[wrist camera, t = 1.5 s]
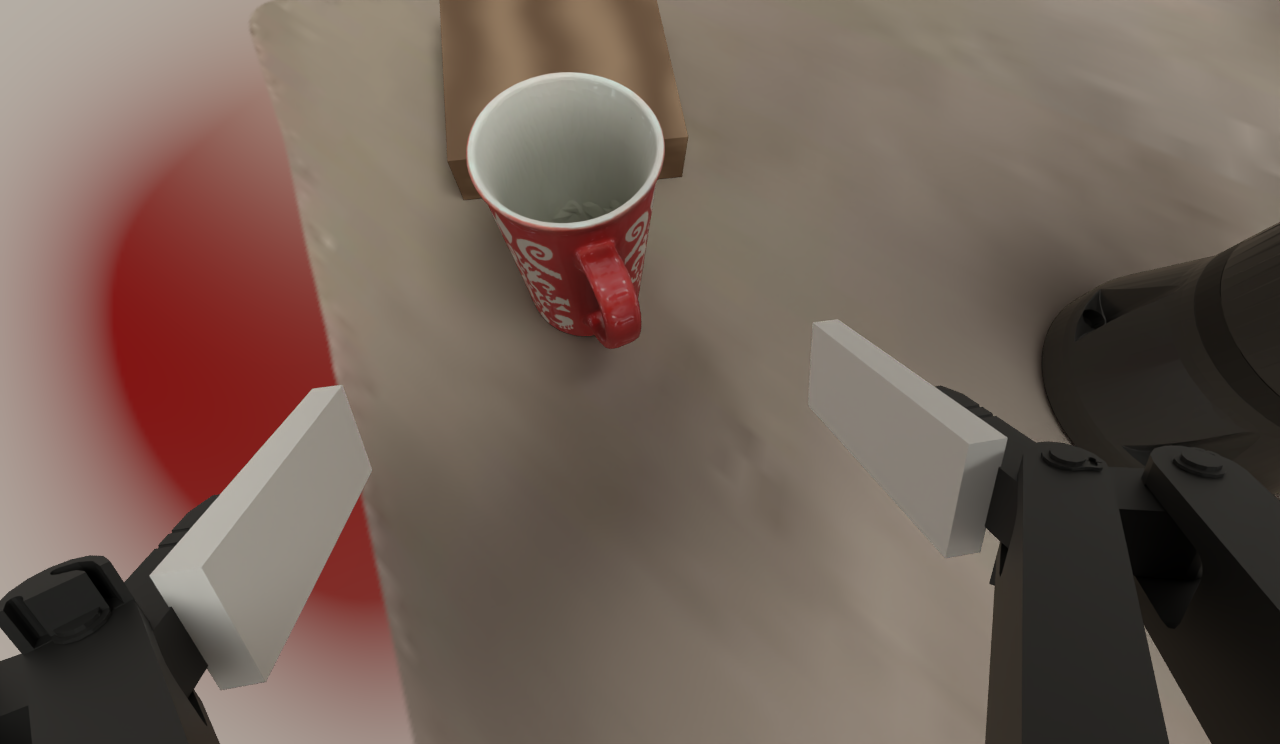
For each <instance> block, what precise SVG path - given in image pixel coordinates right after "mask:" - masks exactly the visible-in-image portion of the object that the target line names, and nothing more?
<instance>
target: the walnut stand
mask: <svg viewBox="0 0 1280 744" xmlns="http://www.w3.org/2000/svg"><path fill="white" fill-rule="evenodd" d="M440 17H441V38H442V58H443V79H444V100H445V120H446V141H447V161H448V164H449V166H450V168H451V171H452V173H453V175H454V178H455V180H456V182H457V185H458V187H459V189H460V192H461V194H462V196H463V199H464V200H467V199H477V198H482V197H481V196H480V195H479V193H478V192H477V190H476V188H475V187H474V185H473V183H472V181H471V178H470V175H469V172H468V168H467V160H466V148H467V141H468V137H469V134H470V131H471V128H472V126H473V124H474V122H475V120H476V118H477V117H478V115H479V114H480V112H481V111H482V110H483V109H484V107H485V106H486V105H487V104H488V103H489V102H490V101H491V100H492V99H494V98H495V97H496V96H497V95H499V94H500V93H501V92H503V91H504V90H506V89H507V88H509V87H511V86H513V85H515V84H517V83H519V82H522V81H524V80H527V79H530V78H533V77H536V76H540V75H545V74H549V73H559V72H575V73H586V74H592V75H596V76H600V77H604V78H607V79H610V80H613V81H615V82H617V83H619V84H621V85H623V86H625V87H627V88H628V89H630V90H631V91H633V92H634V93H636V94H637V95H638V96H639V97H640V98H641V99H642V100H643V101H644V102H645V103H646V104H647V105H648V106H649V107H650V108H651V110H652V111H653V113H654V114H655V115H656V118H657V119H658V121H659V123H660V125H661V128H662V131H663V136H664V142H665V156H664V162H663V166H662V169H661V172H660V175H659V177H658V179H663V178H673V177H682V173H683V167H684V160H685V154H686V148H687V141H688V134H687V130H686V125H685V121H684V117H683V112H682V108H681V104H680V99H679V95H678V91H677V86H676V82H675V78H674V73H673V69H672V65H671V60H670V56H669V52H668V47H667V43H666V39H665V34H664V30H663V26H662V21H661V17H660V13H659V8H658V4H657V0H440Z"/></svg>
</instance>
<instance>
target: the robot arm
mask: <svg viewBox="0 0 1280 744" xmlns="http://www.w3.org/2000/svg"><path fill="white" fill-rule="evenodd" d="M1042 371H1043V379H1044V384H1045V389H1046V392H1047V395H1048V399H1049V401H1050V404H1051V406H1052V409H1053V411H1054V413H1055V415H1056V417H1057V419H1058V421H1059V422H1060V424H1061V426H1062V427H1063V429H1064V431H1065V432H1066V433H1067V435H1068V436H1069V438H1070V439H1071V440H1072V442H1073V443H1074V444H1075V445H1076V446H1072V445H1068V444H1065V443H1057V442H1038V443H1036V442H1034V441H1033V440H1031V439H1030V438H1028V437H1027V436H1025V435H1024V434H1022V433H1021V432H1019V431H1018V430H1016V429H1015V428H1013V427H1012V426H1010V425H1009V424H1007V423H1006V422H1004V421H1003V420H1001V419H1000V418H998V417H997V416H993V414H992V413H991V412H989V411H988V410H986V409H985V408H983V407H979V404H977V403H976V402H974V401H973V400H971V399H970V398H968V397H967V396H965V395H964V394H962V393H959V392H956V391H954V390H951V389H948V388H946V387H943V386H936V387H934V386H933V385H931V384H930V383H929V382H927V381H926V380H924V379H923V378H921V377H920V376H918V375H917V374H916V373H914V372H913V371H911V370H910V369H908V368H907V367H906V366H904V365H903V364H901V363H900V362H898V361H897V360H896V359H894V358H893V357H891V356H890V355H888V354H887V353H886V352H884V351H883V350H881V349H880V348H878V347H877V346H876V345H874V344H873V343H871V342H870V341H868V340H867V339H866V338H864V337H863V336H861V335H860V334H858V333H857V332H855V331H854V330H853V329H851V328H850V327H848V326H847V325H845V324H844V323H843V322H841V321H840V320H838V319H835V320H827V321H820V322H813V326H812V343H811V361H810V378H809V396H808V406H809V407H810V408H811V409H812V411H813V412H814V413H815V414H816V415H817V416H818V417H819V418H820V419H821V421H822V422H823V423H824V424H825V425H826V426H827V427H828V428H829V429H830V431H831V432H832V433H833V434H834V435H835V436H836V437H837V438H838V439H839V441H840V442H841V443H842V444H843V445H844V446H845V447H846V448H847V450H848V451H849V452H850V453H851V454H852V455H853V456H854V457H855V458H856V460H857V461H858V462H859V463H860V464H861V465H862V466H863V467H864V468H865V470H866V471H867V472H868V473H869V474H870V475H871V476H872V477H873V478H874V480H875V481H876V482H877V483H878V484H879V485H880V486H881V487H882V488H883V490H884V491H885V492H886V493H887V494H888V495H889V496H890V497H891V498H892V500H893V501H894V502H895V503H896V504H897V505H898V506H899V507H900V508H901V510H902V511H903V512H904V513H905V514H906V515H907V516H908V517H909V519H910V520H911V521H912V522H913V523H914V524H915V525H916V526H917V527H918V529H919V530H920V531H921V532H922V533H923V534H924V535H925V536H926V537H927V539H928V540H929V541H930V542H931V543H932V544H933V545H934V546H935V547H936V549H937V550H938V551H939V552H940V553H941V554H942V555H943V556H944V557H945V558H951V557H956V556H962V555H967V554H973V553H978V552H980V551H981V547H982V542H983V538H984V534H985V530H986V528H987V529H988V530H989V531H990V532H991V533H992V534H993V535H994V536H995V537H996V538H997V539H998V540H999V541H1000V545H999V548H998V552H997V556H996V560H995V564H994V568H993V572H992V575H991V579H990V583H989V584H991V585H995V591H994V607H993V624H992V640H991V657H990V674H989V690H988V707H987V723H986V740H985V744H1169V740H1168V736H1167V731H1166V726H1165V722H1164V717H1163V712H1162V708H1161V703H1160V699H1159V694H1158V689H1157V685H1156V680H1155V675H1154V671H1153V666H1152V661H1151V657H1150V652H1149V647H1148V643H1147V638H1146V633H1145V629H1144V626H1145V628H1146V629H1147V631H1148V633H1149V635H1150V636H1151V638H1152V640H1153V642H1154V643H1155V645H1156V647H1157V649H1158V650H1159V652H1160V654H1161V656H1162V657H1163V659H1164V661H1165V663H1166V664H1167V666H1168V668H1169V670H1170V671H1171V673H1172V675H1173V677H1174V678H1175V680H1176V682H1177V684H1178V686H1179V687H1180V689H1181V691H1182V693H1183V694H1184V696H1185V698H1186V700H1187V701H1188V703H1189V705H1190V707H1191V708H1192V710H1193V712H1194V714H1195V715H1196V717H1197V719H1198V721H1199V722H1200V724H1201V726H1202V728H1203V729H1204V731H1205V733H1206V735H1207V736H1208V738H1209V740H1210V742H1211V743H1212V744H1280V501H1279V500H1278V499H1277V498H1276V497H1275V496H1274V495H1275V494H1278V493H1280V222H1279V223H1277V224H1275V225H1273V226H1271V227H1269V228H1267V229H1265V230H1263V231H1262V232H1260V233H1258V234H1256V235H1254V236H1252V237H1250V238H1248V239H1246V240H1245V241H1243V242H1241V243H1239V244H1237V245H1235V246H1233V247H1231V248H1229V249H1227V250H1226V251H1224V252H1222V253H1220V254H1218V255H1216V256H1212V257H1207V258H1203V259H1198V260H1194V261H1189V262H1185V263H1181V264H1176V265H1172V266H1167V267H1163V268H1158V269H1154V270H1149V271H1145V272H1140V273H1136V274H1131V275H1127V276H1123V277H1120V278H1117V279H1114V280H1111V281H1109V282H1107V283H1104V284H1102V285H1100V286H1098V287H1097V288H1095V289H1093V290H1092V291H1090V292H1088V293H1086V294H1085V295H1083V296H1081V297H1080V298H1078V299H1076V300H1075V301H1073V302H1072V303H1070V304H1069V305H1068V306H1067V307H1065V308H1064V309H1063V310H1062V311H1061V312H1060V313H1059V315H1058V316H1057V317H1056V318H1055V320H1054V321H1053V323H1052V325H1051V327H1050V329H1049V331H1048V333H1047V336H1046V339H1045V343H1044V347H1043V355H1042ZM371 472H372V468H371V465H370V462H369V459H368V456H367V453H366V451H365V448H364V445H363V442H362V439H361V436H360V433H359V431H358V428H357V425H356V422H355V419H354V416H353V413H352V411H351V408H350V405H349V402H348V399H347V396H346V393H345V391H344V388H343V385H338V386H331V387H323V388H315V389H312V390H311V391H310V392H309V393H308V395H307V396H306V397H305V398H304V399H303V400H302V401H301V403H300V404H299V405H298V406H297V407H296V408H295V410H294V411H293V412H292V413H291V414H290V415H289V416H288V418H287V419H286V420H285V421H284V422H283V423H282V424H281V426H280V427H279V428H278V429H277V430H276V431H275V432H274V434H273V435H272V436H271V437H270V438H269V439H268V440H267V441H266V443H265V444H264V445H263V446H262V447H261V448H260V449H259V451H258V452H257V453H256V454H255V455H254V457H253V458H252V459H251V460H250V461H249V462H248V463H247V464H246V466H245V467H244V468H243V469H242V470H241V471H240V473H239V474H238V475H237V476H236V477H235V478H234V479H233V480H232V482H231V483H230V484H229V485H228V486H227V488H225V490H224V491H223V492H222V493H221V494H219V495H213V496H211V497H210V498H208V499H207V500H205V501H204V502H202V503H201V504H200V505H198V506H197V507H196V508H194V509H192V510H191V511H190V512H188V513H187V514H186V516H185V517H184V518H183V519H182V520H181V521H180V522H179V523H178V524H177V525H176V526H175V527H174V529H173V530H172V533H171V534H168V535H167V536H166V537H165V538H164V540H163V541H162V542H161V543H160V544H159V548H158V549H154V550H153V552H152V553H151V554H150V555H149V556H148V557H147V558H146V559H145V560H144V561H143V562H142V564H141V565H140V566H139V567H138V568H137V569H136V570H135V571H134V572H133V574H132V575H131V576H130V577H129V578H128V579H127V580H126V581H125V582H123V580H122V579H121V577H120V576H119V574H118V573H117V571H116V570H115V568H114V567H113V565H112V564H111V562H110V561H109V560H108V559H107V558H105V557H104V556H85V557H81V558H76V559H72V560H69V561H66V562H64V563H61V564H58V565H56V566H53V567H51V568H48V569H46V570H44V571H42V572H40V573H38V574H36V575H34V576H33V577H31V578H29V579H27V580H26V581H24V582H23V583H21V584H20V585H18V586H17V587H16V588H14V589H12V590H11V591H10V592H8V593H7V594H6V595H5V596H4V597H3V598H2V599H1V600H0V628H1V629H2V630H3V631H4V633H5V634H6V635H7V636H8V637H9V639H10V640H11V641H12V642H13V643H14V645H15V646H16V647H17V648H18V650H19V651H20V652H21V653H22V654H19V655H17V656H14V657H11V658H8V659H5V660H2V661H0V744H220V743H219V741H218V738H217V736H216V734H215V732H214V729H213V727H212V724H211V722H210V720H209V717H208V715H207V712H206V710H205V708H204V706H203V703H202V701H201V700H200V698H199V697H198V695H197V693H196V692H195V690H194V688H195V686H196V685H197V683H198V681H199V680H200V678H201V676H202V675H203V673H204V672H205V670H206V669H208V671H209V672H210V674H211V675H212V677H213V679H214V680H215V682H216V684H217V685H218V687H219V688H220V690H225V689H231V688H236V687H241V686H247V685H253V684H258V683H264V682H266V681H267V679H268V676H269V675H270V673H271V671H272V669H273V667H274V665H275V663H276V661H277V659H278V657H279V655H280V653H281V651H282V649H283V647H284V645H285V643H286V641H287V639H288V637H289V635H290V633H291V631H292V629H293V627H294V625H295V623H296V621H297V619H298V617H299V615H300V613H301V611H302V609H303V607H304V605H305V603H306V601H307V599H308V597H309V595H310V593H311V591H312V589H313V587H314V585H315V583H316V581H317V579H318V577H319V575H320V573H321V571H322V569H323V567H324V565H325V563H326V561H327V559H328V557H329V555H330V553H331V551H332V549H333V547H334V545H335V544H336V542H337V540H338V538H339V535H340V533H341V532H342V529H343V527H344V526H345V523H346V521H347V520H348V517H349V516H350V514H351V512H352V510H353V508H354V506H355V504H356V502H357V500H358V498H359V496H360V494H361V492H362V490H363V488H364V486H365V484H366V482H367V480H368V478H369V476H370V474H371Z"/></svg>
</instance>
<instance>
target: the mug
mask: <svg viewBox="0 0 1280 744" xmlns="http://www.w3.org/2000/svg"><path fill="white" fill-rule="evenodd" d="M664 156H665V142H664V136H663V131H662V128H661V125H660V123H659V121H658V119H657V118H656V115H655V114H654V113H653V111H652V110H651V108H650V107H649V106H648V105H647V104H646V103H645V102H644V101H643V100H642V99H641V98H640V97H639V96H638V95H637V94H636V93H634V92H633V91H631V90H630V89H628V88H627V87H625V86H623V85H621V84H619V83H617V82H615V81H613V80H610V79H607V78H604V77H600V76H596V75H592V74H586V73H575V72H559V73H549V74H545V75H540V76H536V77H533V78H530V79H527V80H524V81H522V82H519V83H517V84H515V85H513V86H511V87H509V88H507V89H506V90H504V91H503V92H501V93H500V94H499V95H497V96H496V97H495V98H494V99H492V100H491V101H490V102H489V103H488V104H487V105H486V106H485V107H484V109H483V110H482V111H481V112H480V114H479V115H478V117H477V118H476V120H475V122H474V124H473V126H472V128H471V131H470V134H469V137H468V141H467V148H466V160H467V168H468V172H469V175H470V178H471V181H472V183H473V185H474V187H475V188H476V190H477V192H478V193H479V195H480V196H481V197H482V198H483V199H484V201H485V202H486V203H487V204H488V205H489V208H490V210H491V212H492V214H493V217H494V219H495V221H496V223H497V225H498V227H499V229H500V231H501V233H502V235H503V238H504V240H505V242H506V244H507V246H508V248H509V249H510V251H511V253H512V256H513V258H514V260H515V262H516V265H517V267H518V269H519V271H520V273H521V275H522V278H523V280H524V282H525V284H526V286H527V288H528V290H529V292H530V295H531V298H532V300H533V301H534V304H535V306H536V308H537V309H538V311H539V312H540V314H541V315H542V316H543V318H544V319H545V320H546V321H547V322H549V323H550V324H551V325H552V326H553V327H555V328H557V329H558V330H560V331H563V332H566V333H569V334H572V335H577V336H592V335H595V336H596V338H597V339H598V340H599V342H600V343H601V344H602V345H603V346H605V347H606V348H609V349H613V348H618V347H621V346H623V345H626V344H628V343H630V342H632V341H634V340H636V339H637V338H638V337H639V335H640V332H641V312H640V306H639V302H638V296H639V290H640V284H641V276H642V270H643V264H644V257H645V251H646V244H647V238H648V231H649V225H650V220H651V213H652V207H653V201H654V194H655V186H656V181H657V179H658V177H659V175H660V172H661V169H662V166H663V162H664Z"/></svg>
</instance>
